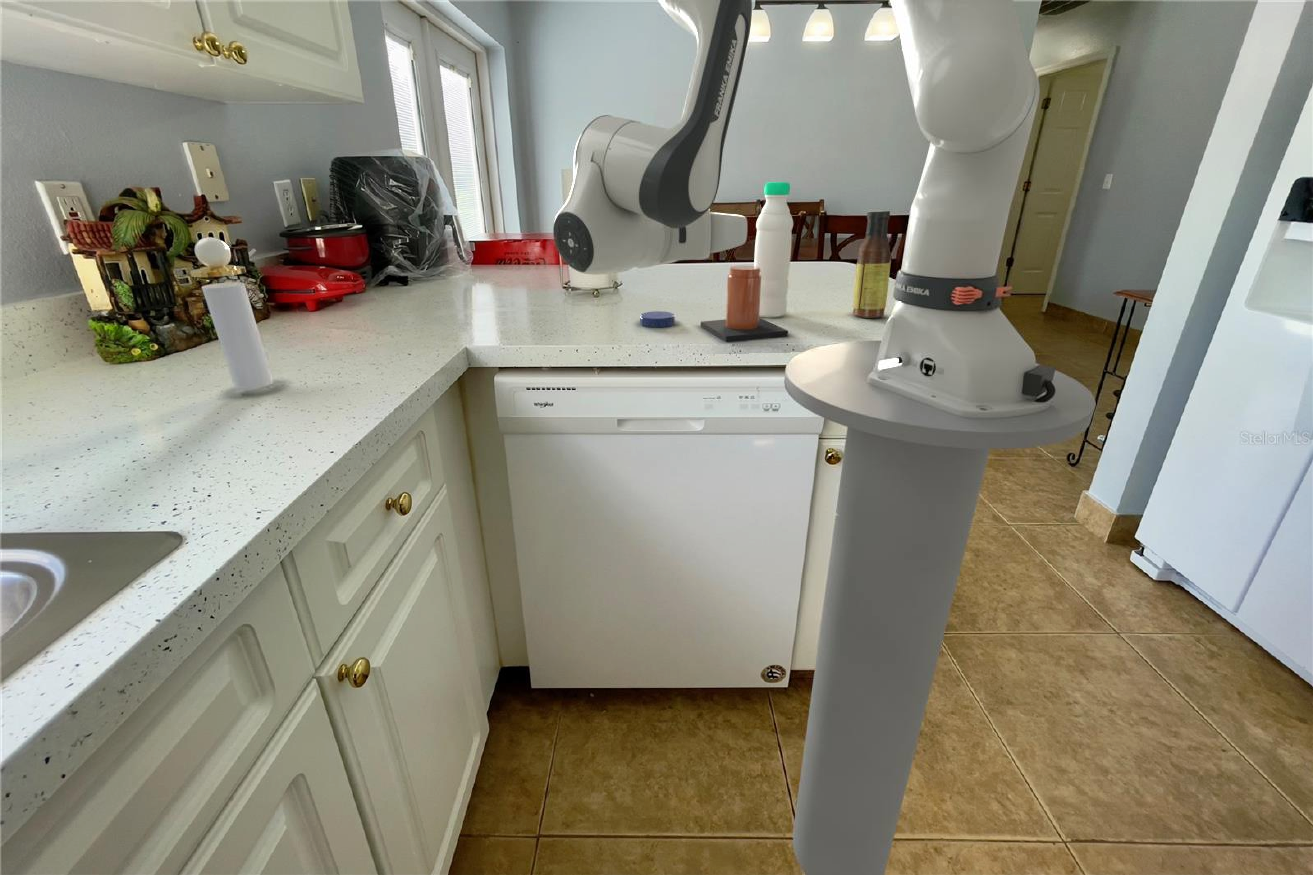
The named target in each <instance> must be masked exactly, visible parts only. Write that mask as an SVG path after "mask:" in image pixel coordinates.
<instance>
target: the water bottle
mask: <svg viewBox="0 0 1313 875" xmlns="http://www.w3.org/2000/svg"><path fill="white" fill-rule="evenodd" d="M763 189H764V190H763V192H764V198H765V204H764V205H763V207H762V209H761V210H760V211H761V212H760V214H759V216H758V218H757V220H756V223H755V229H756V236H755V242H754V243H755V244H754V245H755V246H754V258H753V259H754V260H753V261H754V262H753V266H757V267H760V270H761V271H760V275H761V276H762V281H761V297H760V313H759V318H780V317H783V316H784V315H786V313H787V308H788V306H787V305H788V302H787V301H788V300H787V295H788V290H789V273H790V266H791V265H790V264H791V254H792V241H793V240H792V237H793V236H792V230H793V227H794V220H793V217H792V214H791V213H790V212H791V211H790V207H789V205H788V202H787V200H788V198H789V195H790V192H791V185H790V183H789V182H788V181H768V182H766V183H765V184H764V188H763Z"/></svg>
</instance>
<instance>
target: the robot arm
mask: <svg viewBox="0 0 1313 875" xmlns="http://www.w3.org/2000/svg"><path fill="white" fill-rule="evenodd" d="M657 1H658V3H659V4H660V6H661V7H662V8H663V10H664V11H665V13H667V15H668V16H669V17H670V18H671V19H672V20H673V21H674V22H675V23H676V24H677V25H679V26H680V27H681V28H683V29H684V30H685V31H687V32H688V33H689V34H691V35H692V36H693V37H695V39H696V42H697V48H696V49H697V50H696V56H695V60H694V64H693V68H692V72H691V76H690V81H689V85H688V89H687V92H686V98H685V102H684V105H683V110H682V115H681V117H680V119H679V120H678V122H676V123H675V124H674V125H672V126H671V127H668V128H666V127H661V126H657V125H653V124H647V123H644V122H641V121H637V120H633V119H629V118H623V117H618V116H612V115H609V114H605V115H600V116H599V117H596V118H594V119H593V120H591V122H590V123H588V125H586V126H585V128H584V129H583V130H582V132H581V134H580V135H579V138H578V139H577V142H576V145H575V149H574V154H573V165H572V169H573V170H572V171H573V172H572V174H573V181H572V185H571V188H570V189H571V190H570V192H569V196H568V198H567V200H566V202H565V203H564V205H563V206H562V207H561V208H560V210H559V211H558V213H557V214H556V215H555V219H554V220H553V221H554V222H553V228H552V234H553V241H554V244H555V247H556V250H557V252H558V254H559V256H560V257H561V259H562V260H563V261H564V263H566V264H567V265H568V266H569V267H570V268H571V269H573V270H574V271H576V272H579V273H581V274H585V275H593V276H594V275H595V276H596V275H599V276H600V275H611V274H619V273H623V272H627V271H630V270H632V269H634V268H637V269H645V268H649V267H655V266H660V265H668V264H672V263H675V262H680V261H681V262H682V261H698V260H706V259H709V258H710V255H711V254H714V253H715V254H716V253H719V252H720V253H721V252H724V251H727V250H731V249H735V248H737V247H740V246H743V245H744V244H746V241H747V240H748V239H747V238H748V219H747V217H745V216H744V215H741V214H733V213H723V212H714V211H713V212H712V211H711V207H712V206H713V204H714V202H715V200H716V197H717V194H718V191H719V187H720V186H719V185H720V180H721V171H722V160H723V152H724V146H725V143H726V139H727V138H726V137H727V133H728V129H729V125H730V121H731V118H732V113H733V109H734V105H735V101H736V96H737V93H738V90H739V89H738V88H739V85H740V80H741V77H742V72H743V68H744V65H745V60H746V56H747V51H748V46H749V42H750V36H751V30H752V23H753V0H657ZM890 3H891V7H892V10H893V13H894V16H895V19H896V23H897V27H898V31H899V36H900V41H901V48H902V54H903V55H902V56H903V60H904V67H905V72H906V76H907V81H908V87H909V91H910V95H911V100H912V104H913V108H914V113H915V118H916V121H917V124H918V127H919V129H920V131H921V133H922V135H923V136H924V137H925V139H927V141H928V142H930V143H929V147H928V151H927V155H926V159H925V162H924V166H923V170H922V174H921V178H920V181H919V184H918V186H917V190H916V193H915V196H914V198H913V201H912V203H911V206H910V211H909V216H908V217H909V218H908V222H907V223H908V224H907V230H906V235H905V242H904V248H903V254H902V263H901V268H900V269H899V270H898V271H897V272H896V276H895V277H896V278H895V280H894V284H893V287H894V289H893V295H892V297H893V298H894V300H895V302H894V306H893V308H892V311H891V313H890V315H889V317H888V319H887V321H886V324H885V325H884V330H883V333H882V338H881V340H880V341H881V345H880V349H879V353H878V357H877V360H876V364H875V366H874V369H873V372H871V373H870V374H869V376H868V380H867V383H869V384H871V385H873V386H876V387H879V388H882V389H884V390H887V391H890V392H893V393H895V394H898V395H901V396H904V397H906V398H909V399H912V400H915V401H917V402H920V403H923V404H926V405H928V406H931V407H934V408H937V409H939V410H942V411H945V412H948V413H950V414H953V415H956V416H959V417H964V418H978V419H994V418H1008V417H1016V416H1023V415H1029V414H1033V413H1037V412H1041V411H1044V410H1046V409H1047V408H1049V407H1050V406H1051V402H1052V398H1053V396H1054V395H1055V391H1056V390H1055V386H1054V385H1053V383H1052V380H1053V377H1054V373H1055V370H1056V369H1057V368H1056V367H1054V366H1053V367H1052V366H1048V365H1043V364H1040V365H1038V366H1036V363H1037V361H1036V354H1035V352H1034V351H1033V349H1032V347H1030V346H1029V344H1028V343H1027V342H1026V341H1025V340H1024V338H1023V337H1022V335H1021V334H1020V332H1018V331H1017V329H1016V328H1015V327H1014V326H1013V324H1012V323H1011V322H1010V320H1009V319H1008V318H1007V316H1006V315H1005V314H1004V313H1003V311H1002V310H1001V309H1000V307H1001V306H1002V297H1010V296H1012V295H1011V293H1004V292H1007V291H1011V290H1012V289H1013V287H1012V286H1000V280H999V276H998V275H997V270H998V263H999V259H1000V254H1001V249H1002V246H1003V241H1004V238H1005V237H1004V236H1005V232H1006V229H1007V224H1008V219H1009V214H1010V210H1011V207H1012V203H1013V199H1014V196H1015V192H1016V188H1017V185H1018V181H1019V177H1020V174H1021V170H1022V166H1023V162H1024V159H1025V156H1026V152H1027V147H1028V144H1029V141H1030V136H1031V132H1032V128H1033V125H1034V124H1033V123H1034V120H1035V117H1036V113H1037V108H1038V104H1039V100H1040V94H1041V90H1040V87H1041V86H1040V81H1039V77H1038V74H1037V72H1036V69H1035V68H1034V66H1033V64H1032V62H1031V59H1030V57H1029V54H1028V51H1027V49H1026V44H1025V40H1024V36H1023V33H1022V30H1021V29H1022V28H1021V26H1020V22H1019V17H1018V14H1017V10H1016V6H1015V1H1014V0H890ZM1056 371H1057V370H1056ZM1046 391H1047V392H1046ZM1044 392H1046V394H1045V393H1044Z"/></svg>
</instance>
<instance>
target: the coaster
mask: <svg viewBox="0 0 1313 875" xmlns="http://www.w3.org/2000/svg"><path fill="white" fill-rule="evenodd" d="M700 328H701V329H702V328H703V329H704V330H705V331H707V332H709V333H710V334H712V335H714V336H716V337H717V338H719V339H720V340H722V341H723V342H725V343H731V342H740V341H748V340H750V341H751V340H761V339H771V338H781V337H788V336H789V330H787V329H786V328H784V327H781V326H780V325H777V324H775V323H773V322H771V321H768V320H766V319H763V317H759V327H758V328H755V329H749V330H738V329H731V328H728V327H726V318H725V319H715V320H714V319H713V320H702V321H700Z"/></svg>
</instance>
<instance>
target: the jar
mask: <svg viewBox="0 0 1313 875" xmlns="http://www.w3.org/2000/svg"><path fill="white" fill-rule="evenodd" d="M760 271H761V270H760V267H757V266H754V265H743V264H742V265H733V266H730V267H729V274H728V275H727V281H726V282H727V285H726V306H725V307H726V308H725V310H726V311H725V319H726V327H728V328H731V329H738V330H749V329H755V328H758V327H759V318H760V317H759V313H760V297H761V281H762V276H761V275H760Z"/></svg>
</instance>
